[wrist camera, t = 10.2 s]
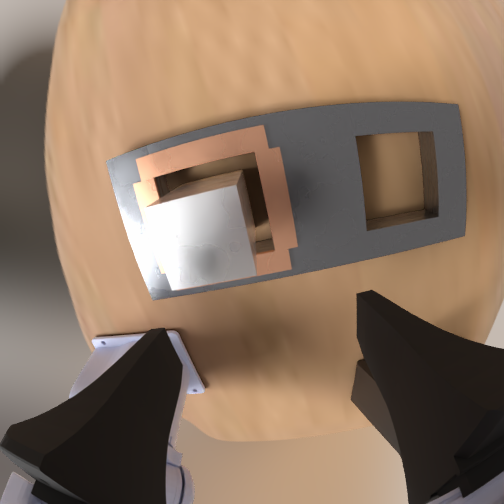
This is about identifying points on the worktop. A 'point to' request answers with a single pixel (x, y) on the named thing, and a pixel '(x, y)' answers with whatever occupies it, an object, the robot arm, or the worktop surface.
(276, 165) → the rail plate
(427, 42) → the worktop surface
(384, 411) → the phone stand
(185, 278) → the block
